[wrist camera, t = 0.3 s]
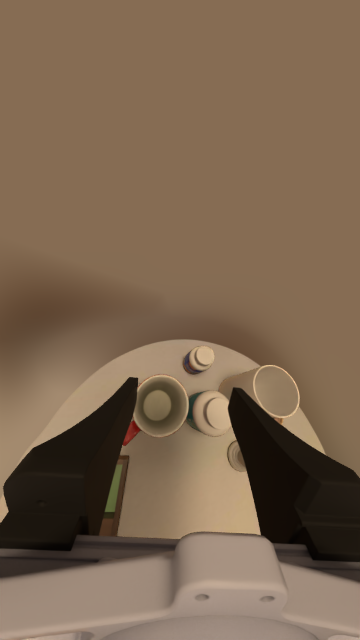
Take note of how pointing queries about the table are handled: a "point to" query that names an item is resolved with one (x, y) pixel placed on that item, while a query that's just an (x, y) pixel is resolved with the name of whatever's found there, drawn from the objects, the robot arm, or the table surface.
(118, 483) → the tray
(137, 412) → the mug
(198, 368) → the pill bottle
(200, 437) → the table surface
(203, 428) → the pill bottle
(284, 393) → the cup
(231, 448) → the chess piece
